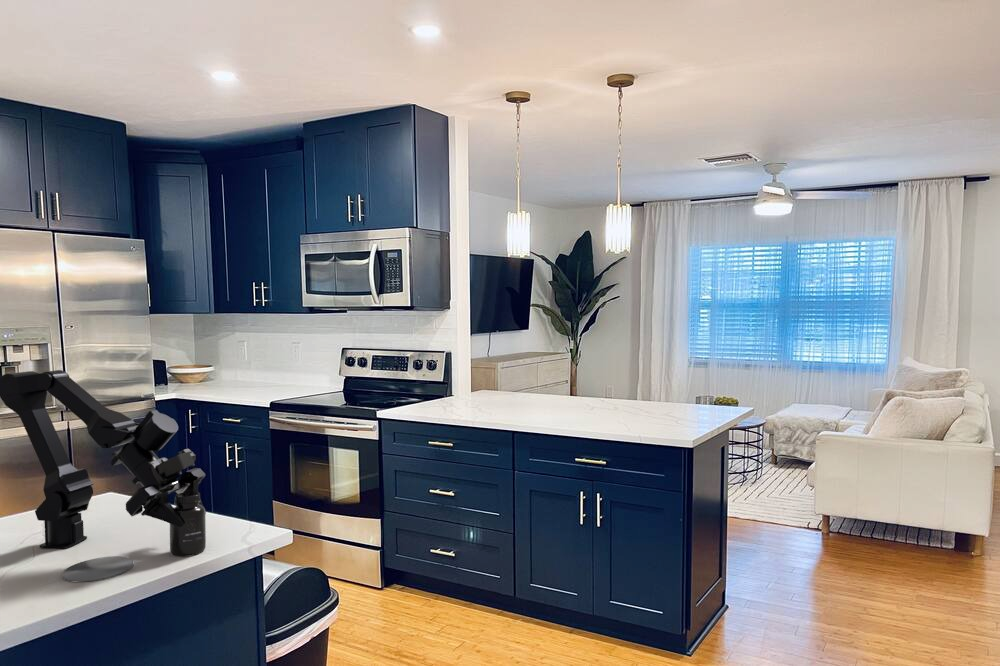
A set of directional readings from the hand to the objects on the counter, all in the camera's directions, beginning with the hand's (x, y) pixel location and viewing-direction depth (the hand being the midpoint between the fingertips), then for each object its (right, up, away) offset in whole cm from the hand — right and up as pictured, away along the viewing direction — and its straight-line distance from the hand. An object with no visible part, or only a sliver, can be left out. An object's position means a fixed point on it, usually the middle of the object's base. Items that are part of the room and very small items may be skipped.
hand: (193, 520), depth 144 cm
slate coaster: (-14, -7, -9) cm, 18 cm away
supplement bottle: (-1, -7, +1) cm, 7 cm away
